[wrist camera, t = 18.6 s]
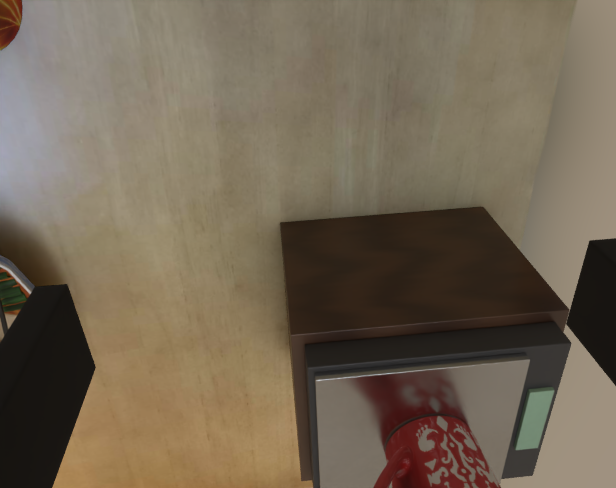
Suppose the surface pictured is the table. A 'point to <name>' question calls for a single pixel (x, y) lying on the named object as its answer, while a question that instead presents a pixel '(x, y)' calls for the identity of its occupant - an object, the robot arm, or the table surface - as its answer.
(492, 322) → the riser
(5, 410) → the robot arm
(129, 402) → the table surface
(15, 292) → the ramen bowl
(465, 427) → the mug
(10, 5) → the mug
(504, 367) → the kitchen scale
